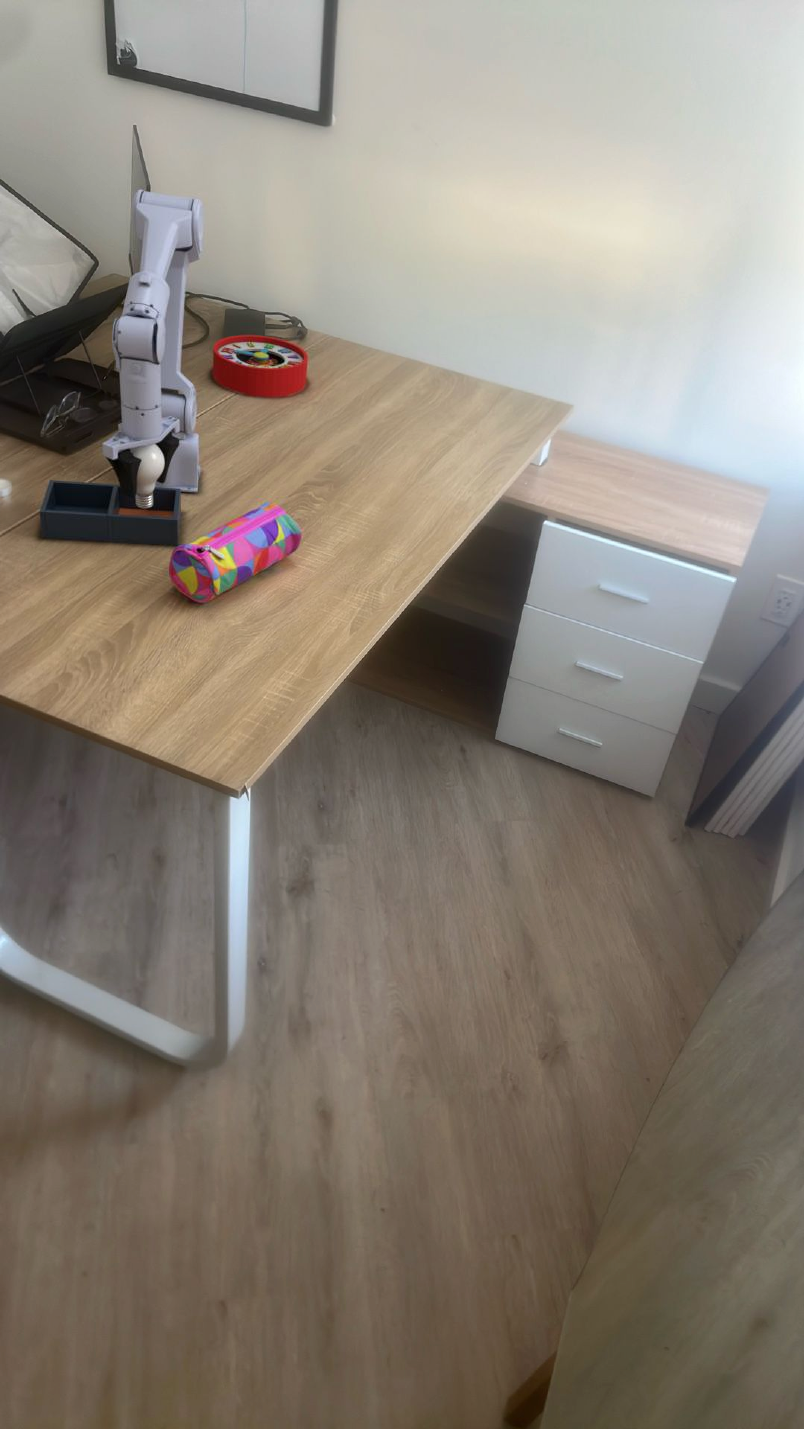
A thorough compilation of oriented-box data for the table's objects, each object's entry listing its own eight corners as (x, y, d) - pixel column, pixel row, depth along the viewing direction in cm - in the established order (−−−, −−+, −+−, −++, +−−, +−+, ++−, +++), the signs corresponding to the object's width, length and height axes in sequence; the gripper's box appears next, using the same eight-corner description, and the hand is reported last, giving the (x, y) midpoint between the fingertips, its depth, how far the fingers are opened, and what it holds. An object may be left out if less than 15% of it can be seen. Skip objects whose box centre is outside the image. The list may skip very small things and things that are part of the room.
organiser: (180, 513, 156) (180, 488, 153) (177, 545, 148) (177, 520, 145) (52, 505, 152) (49, 479, 149) (42, 538, 144) (39, 511, 141)
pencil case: (212, 618, 134) (213, 563, 128) (162, 593, 137) (160, 538, 131) (303, 562, 149) (308, 510, 144) (256, 540, 152) (259, 489, 147)
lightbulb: (172, 504, 150) (171, 439, 143) (152, 521, 146) (150, 454, 139) (136, 494, 151) (134, 428, 144) (115, 510, 146) (112, 443, 140)
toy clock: (296, 376, 194) (200, 358, 194) (294, 404, 197) (200, 386, 198) (316, 346, 209) (228, 329, 209) (314, 372, 213) (227, 355, 213)
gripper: (153, 382, 144) (156, 464, 153) (84, 407, 134) (90, 494, 142) (190, 396, 142) (190, 479, 151) (122, 422, 132) (126, 510, 140)
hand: (144, 487), depth 146 cm, fingers closed on lightbulb, 6 cm apart
